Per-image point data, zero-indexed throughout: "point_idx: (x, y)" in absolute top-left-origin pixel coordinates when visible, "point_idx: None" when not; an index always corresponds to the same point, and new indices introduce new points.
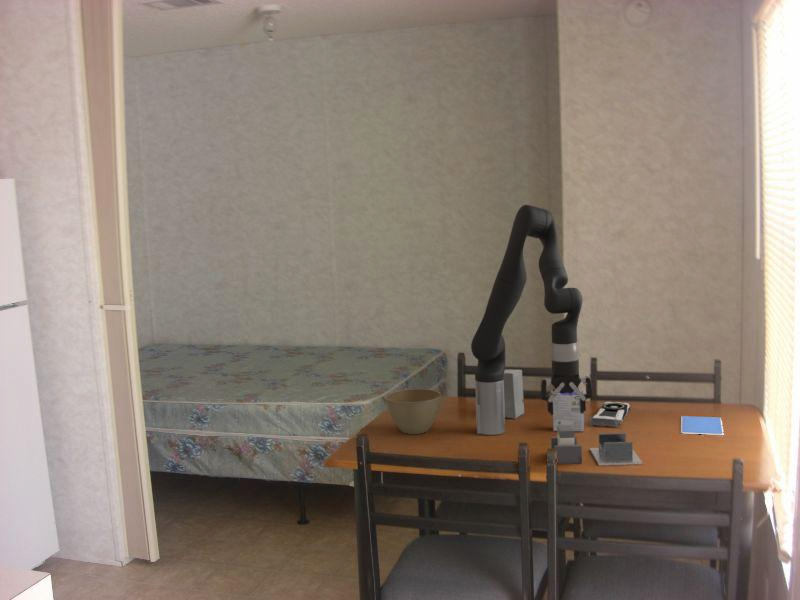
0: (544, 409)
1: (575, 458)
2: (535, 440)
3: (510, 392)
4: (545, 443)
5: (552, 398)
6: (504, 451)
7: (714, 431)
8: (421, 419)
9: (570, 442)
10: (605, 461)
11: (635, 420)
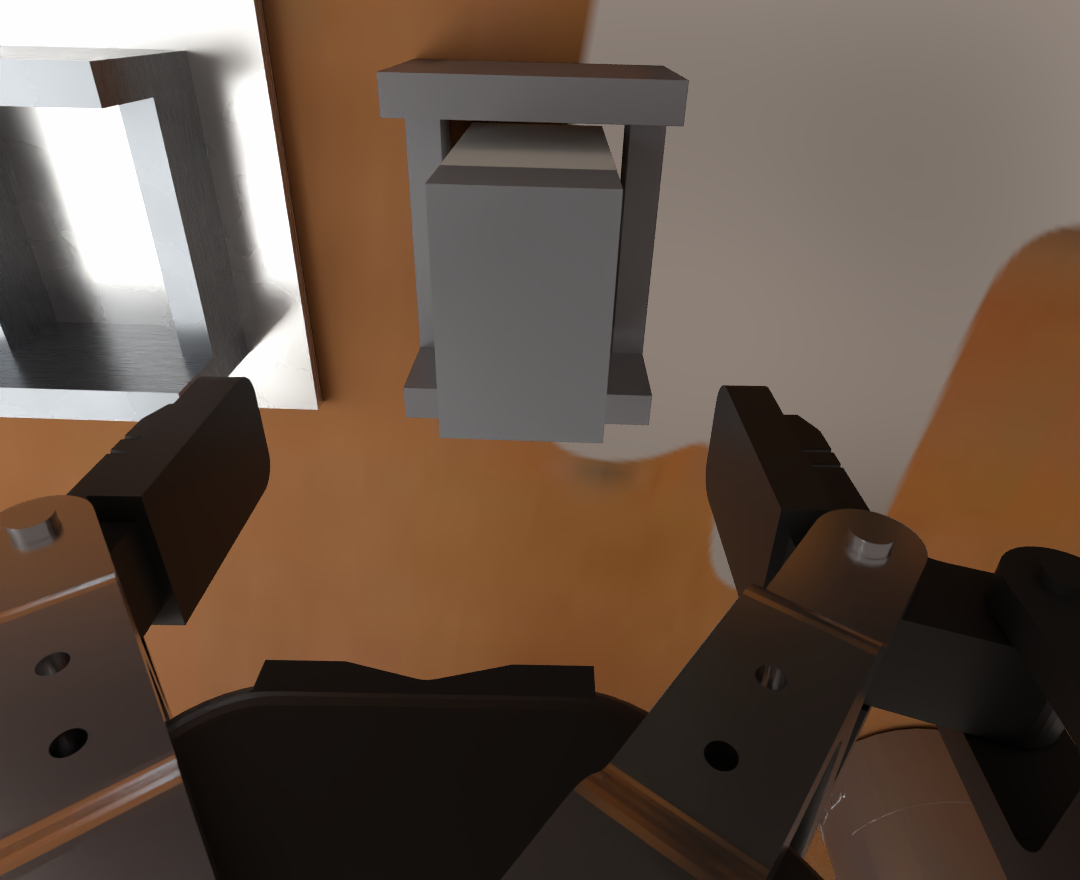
0: None
1: (467, 64)
2: (676, 623)
3: None
4: (623, 566)
5: (826, 565)
6: (976, 442)
7: None
8: None
9: (493, 154)
10: (182, 23)
11: None
